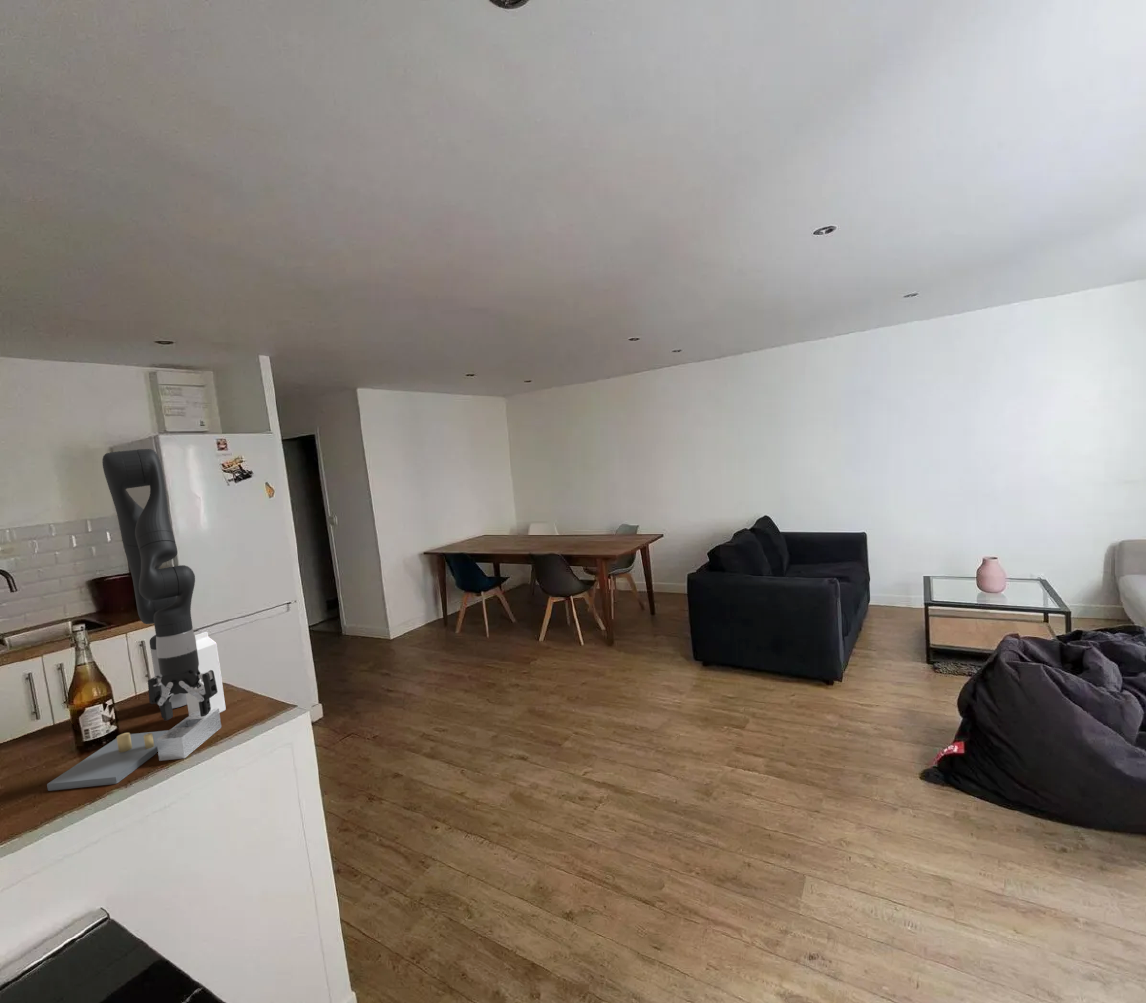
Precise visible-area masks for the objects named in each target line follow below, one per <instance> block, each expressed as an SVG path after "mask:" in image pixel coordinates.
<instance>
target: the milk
mask: <svg viewBox="0 0 1146 1003" xmlns="http://www.w3.org/2000/svg"><path fill="white" fill-rule="evenodd" d="M194 635H195V639H196V646H197V653H198V660H199V666H198V670H199V672H200V673H205V672H208V671H210V670H213V672H214V676H215V681H216V686H217V691H218V692H217V693H216V694H215V695H214V696H212V697H211V698H210V707H211V710H213V709H218V708H219V713H223V712H225V711H226V710H227V708H226V702H225V700H226V699H225V695H224V694H225V693H224V686H223V678H222V672H221V670H222V669H221V664H220V657H219V649H218V643H217V642H216V641H215V640H213V639H212V638H211V637H210V636H209V632H208V631H204V632H200V633H198V634H194ZM199 681H200V682H201V679H200V680H199ZM201 683H202V684H203V685H204V683H203V682H201ZM194 689H197V687H195V688H194ZM186 698H187V705H186V706H187V710H188V716H189V715H191V714H192V713H194V712H195V711H198V710H200V708H199V702H200V701H199V700H198V699H197V698H196V697H195V696H192V695H191V694H190V693H186ZM211 710H210V711H211ZM210 711H209V712H210Z"/></svg>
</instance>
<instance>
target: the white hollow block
mask: <svg viewBox="0 0 1146 1003" xmlns="http://www.w3.org/2000/svg"><path fill="white" fill-rule="evenodd" d="M220 713H221V712H220ZM220 713H219V708H218V709H213V710H211V711H210V712H209V713H208V714H207V715H206V716H202V717H201V715H200V710H198V711H195V712H194V713H192V714H191V715H189V714H188V716H186V717H184V719H183V720H181V721H180V722H179V723H178V722H177V724H176V725H175V726H173V727H172V728H170V729H169V731H168V732H166V733H165V734H163V735H162V736H161V737H159V738H158V739H157V740H156V742H157V749H158V753H157V755H158V761H159V762H161V761H162V762H163V761H169V760H170V761H171V760H180V759H186V758H187V757H188V756H189V755H190V754H191V753H193V752H194V751H195V750H196V749H198V748H199V747H200V746H201V745H202V744H203V743H205V742H206V741H207V740H208V739H210V738H211V736H213V735H214V734H215V733H217V731H219V730H220V729H221V728H222V722H221V715H220Z"/></svg>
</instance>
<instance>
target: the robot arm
mask: <svg viewBox="0 0 1146 1003" xmlns="http://www.w3.org/2000/svg"><path fill="white" fill-rule="evenodd" d="M102 469H103V473H104V477H105V479H106V483H107V486H108V489H109V493H110V495H111V498H112V502H113V504H114V508H115V511H116V516H117V520H118V526H119V531H120V535H121V536H120V537H121V541H122V545H123V550H124V553H125V557H126V559H127V563H128V567H129V570H130V573H131V574H130V575H131V578H132V583H133V584H132V585H133V590H134V591H133V592H134V596H135V602H136V609H137V614H138V617H139V619H140V621H141V622H142V623H143V624H145V625H154V632H155V635H152V637H150V639H149V648H150V654H151V655H150V656H151V660H152V666H153V675H154V676H153V677H151V678H150V679H149V680H147V687H148V699H149V704H151V705H154V704H156V705H158V706H159V707H158V708H159V710H160V716H161V719H163V722H164V721H169V720H170V719H172V718H173V717H174V714H173V713H174V712H173V709H176V708H180V707H183V706H188V705H187V698H186V693H190V694H191V695H192V696H195V697H196V698H197V699H198V700H199V701H200V702H199V708H200V715H201V717H202V716H206V715H207V714H208V713H209V711H210V710H211V707H210V698H211V697H212V696H214V695H215V694H216V693H217V692H218V691H217V686H216V681H215V676H214V672H213V670H210V671H208V672H205V673H200V672H199V670H198V666H199V660H198V653H197V646H196V639H195V635H196V634H195V632H194V629H193V620H192V613H191V610H192V609H191V608H192V607H191V606H192V601H193V600H192V598H193V593H194V591H195V590H194V589H195V586H196V585H195V583H196V575H195V573H194V571H193V569H192V568H191V567H190V566H188V565H184V564H183V565H182V564H180V565H174V566H169V567H164V568H161V566H162V565H163V564H164V563H166V562H169V561H172V560H174V559H175V558H176V557H177V555H178V547H177V544H176V541H175V536H174V533H173V530H172V525H171V521H170V515H169V507H168V506H169V505H168V496H167V490H166V484H165V477H164V472H163V471H164V470H163V467H162V463H161V459H160V457H159V455H158V453H157V452H156V451H155V450H154V449H152V448H140V449H132V450H131V449H129V450H121V451H120V450H118V451H111V452H107V453H105V454H103V456H102ZM148 486H149V490H150V491H149V497H148V500H147V501H146V504H145V506H144V508H143V507H142V506H140V505H139V504H138V503H137V501H135V500H134V499H133V498H132V497H131V495H130V494H129V492H128V490H127V489H134V488H140V487H141V488H142V487H148ZM200 679H201V682H203V683H204V685H203V684H202V683H201V682H200V681H199V680H200ZM195 687H197V689H194V688H195Z"/></svg>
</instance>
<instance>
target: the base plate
mask: <svg viewBox="0 0 1146 1003" xmlns="http://www.w3.org/2000/svg"><path fill="white" fill-rule="evenodd" d="M169 730H170V729H169ZM169 730H158V731H149V732H147V731H146V732H140V733H139V732H138V733H130V732H124V733H121V734H118V735H117V736H116V738H115V739H113V740H112V741H110V742H109V743H107V744H106V745H103V747H101V748H99V749H98V750H96V751H95V752H94V753H92V754H90V755H89V756H87V757H86V758H84V759H83V760H82V761H80V762H78V763H77V764H75V765H73V766H72V767H71V768H69V769H68V770H66V771H64V772H63V773H62V774H60V775H59V776H56V777H55V778H54V779H52V780H51V781H50V782H48V783H47V784H46V786H47V787H46V788H47V791H59V790H60V791H61V790H70V789H78V788H87V787H89V788H90V787H99V786H108V785H117V784H118V783H120V782H121V781H122V780H123V779H126V777H128V775H130V774H132V773H133V772H134V771H136V770H137V769H138V768H139V767H141V766H142V765H143V764H145V763H146V762H147V761H149V760H150V759H151V758H152V757H154V756H155V755H156V754H158V753H157V752H158V749H157V742H156V740H157V739H158V738H159V737H161V736H162V735H163V734H165V733H166V732H168V731H169Z"/></svg>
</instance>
